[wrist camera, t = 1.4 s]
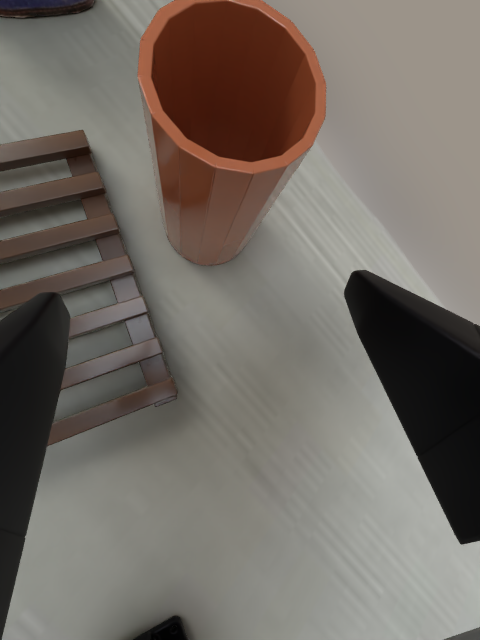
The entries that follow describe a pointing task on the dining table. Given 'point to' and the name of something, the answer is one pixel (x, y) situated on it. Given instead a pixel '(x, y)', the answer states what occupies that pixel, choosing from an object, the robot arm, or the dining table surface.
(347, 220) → the dining table surface
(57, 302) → the robot arm
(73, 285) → the drying rack
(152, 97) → the tumbler
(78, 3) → the flask
